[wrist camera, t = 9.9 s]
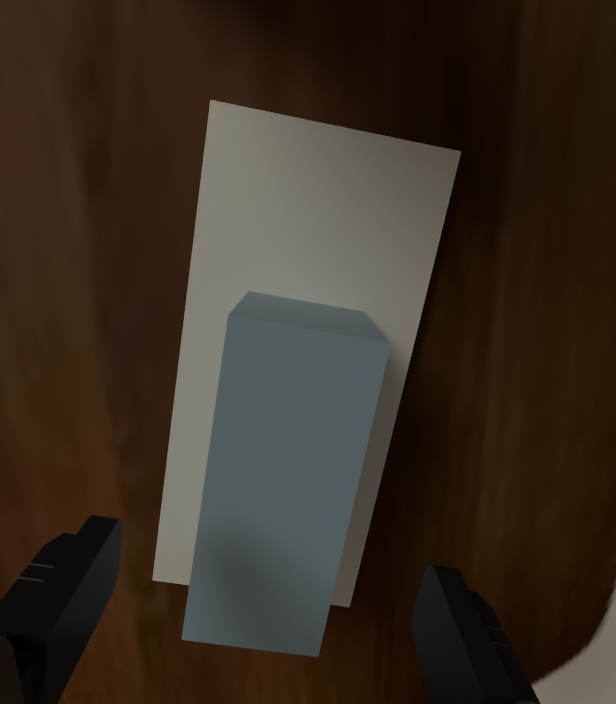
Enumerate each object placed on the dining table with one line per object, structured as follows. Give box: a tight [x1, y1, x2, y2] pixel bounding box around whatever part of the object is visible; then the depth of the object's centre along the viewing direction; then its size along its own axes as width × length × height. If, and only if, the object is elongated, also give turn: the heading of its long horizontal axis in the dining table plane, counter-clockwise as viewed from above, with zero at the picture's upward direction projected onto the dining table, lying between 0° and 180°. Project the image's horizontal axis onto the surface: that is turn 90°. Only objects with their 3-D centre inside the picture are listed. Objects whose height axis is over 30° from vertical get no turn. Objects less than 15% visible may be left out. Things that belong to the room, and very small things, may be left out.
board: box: [153, 100, 461, 607], centre depth 20 cm, size 22×10×3 cm, turn 170°
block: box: [182, 291, 391, 657], centre depth 18 cm, size 12×5×6 cm, turn 170°
